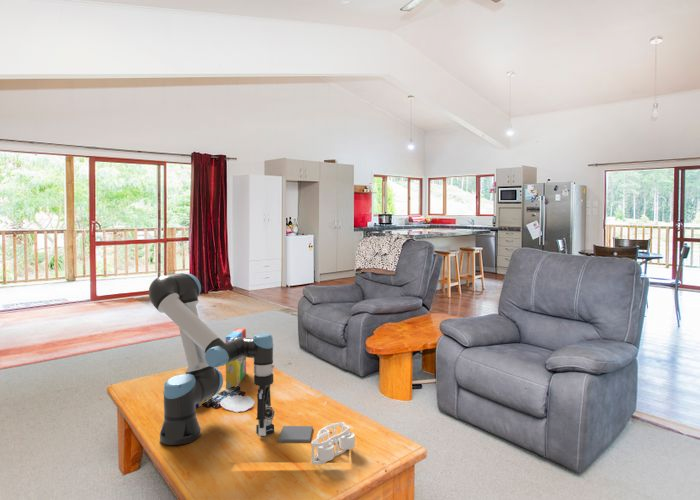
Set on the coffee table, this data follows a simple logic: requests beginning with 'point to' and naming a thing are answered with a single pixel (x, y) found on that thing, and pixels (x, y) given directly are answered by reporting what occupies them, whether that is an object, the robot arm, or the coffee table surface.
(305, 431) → the mat
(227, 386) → the game box
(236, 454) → the coffee table surface
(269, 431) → the watch
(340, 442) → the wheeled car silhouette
